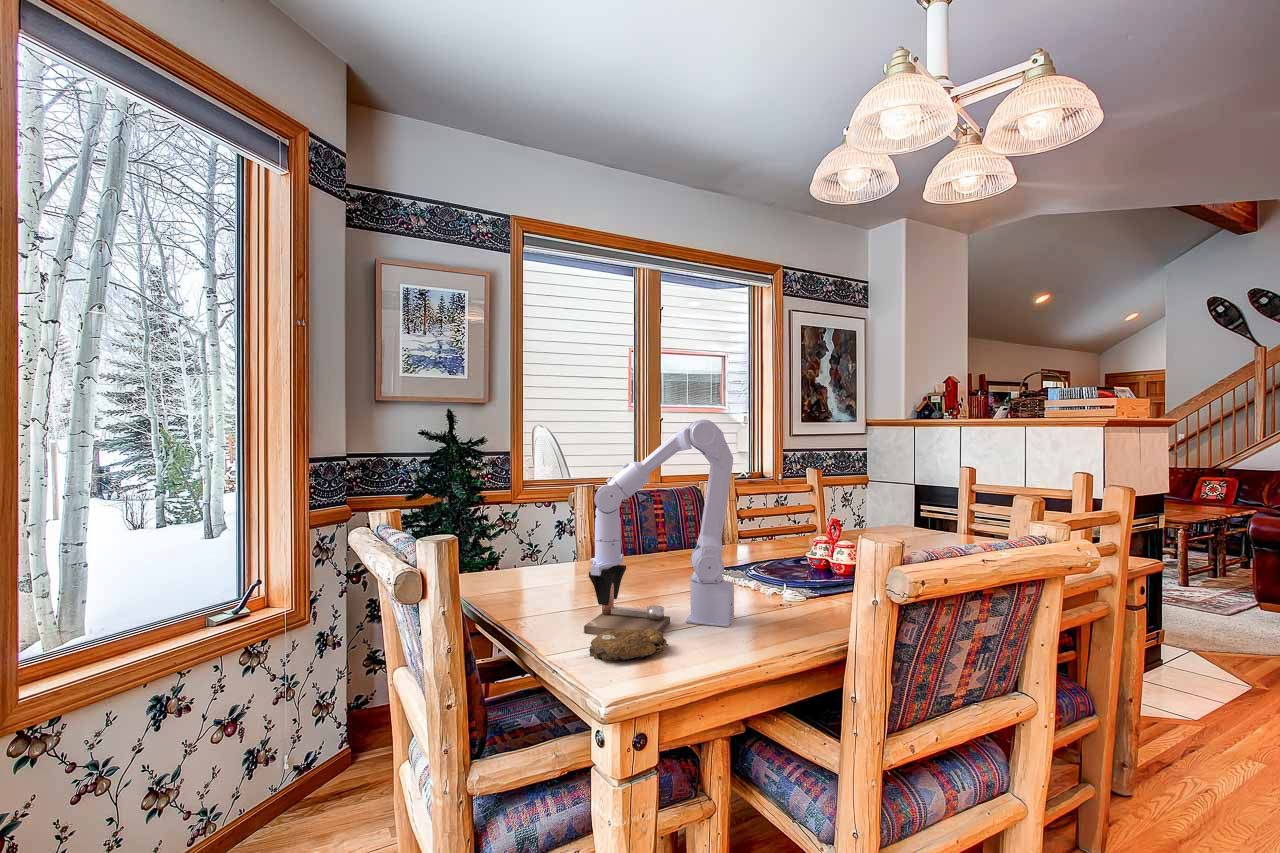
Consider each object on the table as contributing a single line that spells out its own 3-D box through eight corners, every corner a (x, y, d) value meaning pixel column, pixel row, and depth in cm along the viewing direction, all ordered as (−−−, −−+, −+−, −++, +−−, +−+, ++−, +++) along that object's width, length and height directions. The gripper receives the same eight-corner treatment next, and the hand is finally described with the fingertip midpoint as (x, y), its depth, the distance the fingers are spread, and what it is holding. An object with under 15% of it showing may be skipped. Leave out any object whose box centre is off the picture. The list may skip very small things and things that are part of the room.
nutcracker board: (670, 623, 134) (670, 616, 134) (653, 640, 123) (653, 632, 123) (605, 617, 139) (605, 609, 139) (584, 633, 127) (584, 625, 127)
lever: (666, 615, 133) (666, 585, 134) (661, 620, 130) (661, 589, 130) (605, 609, 138) (605, 580, 138) (599, 614, 135) (599, 584, 135)
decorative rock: (647, 639, 125) (580, 655, 118) (646, 619, 126) (579, 634, 118) (679, 653, 116) (608, 672, 108) (678, 631, 116) (607, 648, 108)
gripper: (603, 533, 144) (603, 592, 144) (577, 544, 131) (577, 608, 130) (631, 535, 142) (631, 594, 142) (608, 545, 128) (608, 611, 128)
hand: (607, 601), depth 136 cm, fingers open, 5 cm apart
